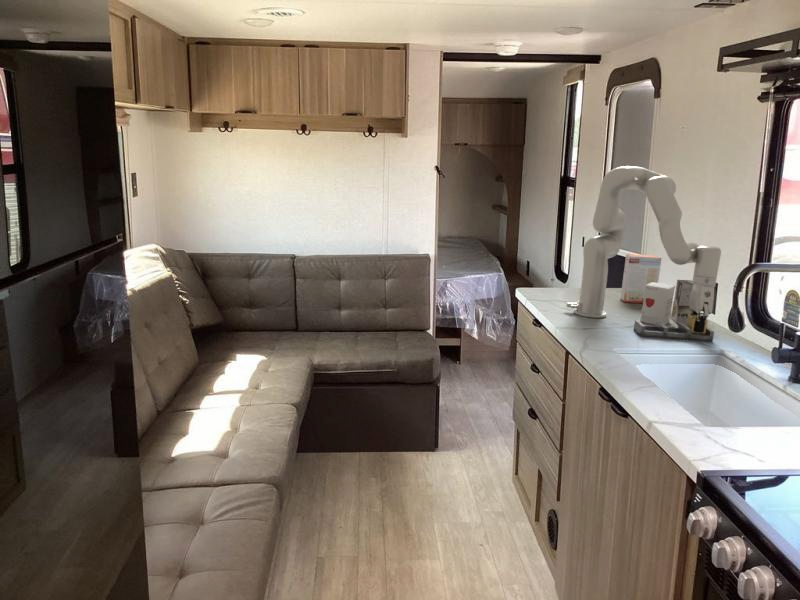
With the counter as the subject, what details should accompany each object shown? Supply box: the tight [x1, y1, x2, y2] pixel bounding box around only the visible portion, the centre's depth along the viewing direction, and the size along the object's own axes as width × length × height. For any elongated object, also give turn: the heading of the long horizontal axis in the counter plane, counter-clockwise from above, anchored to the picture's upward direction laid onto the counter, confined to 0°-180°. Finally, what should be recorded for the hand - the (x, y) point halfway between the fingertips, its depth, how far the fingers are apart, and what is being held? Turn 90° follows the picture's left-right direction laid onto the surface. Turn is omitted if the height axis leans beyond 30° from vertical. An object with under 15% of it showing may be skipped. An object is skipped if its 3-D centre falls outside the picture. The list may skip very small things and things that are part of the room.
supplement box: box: [639, 282, 676, 326], centre depth 251 cm, size 9×9×15 cm
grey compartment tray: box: [633, 319, 715, 343], centre depth 233 cm, size 25×9×4 cm, turn 85°
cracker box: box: [620, 254, 662, 304], centre depth 285 cm, size 14×6×21 cm, turn 88°
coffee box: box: [670, 279, 693, 325], centre depth 255 cm, size 9×6×16 cm
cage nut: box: [686, 315, 709, 333], centre depth 232 cm, size 5×5×6 cm
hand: (695, 329), depth 232 cm, fingers closed on cage nut, 5 cm apart
